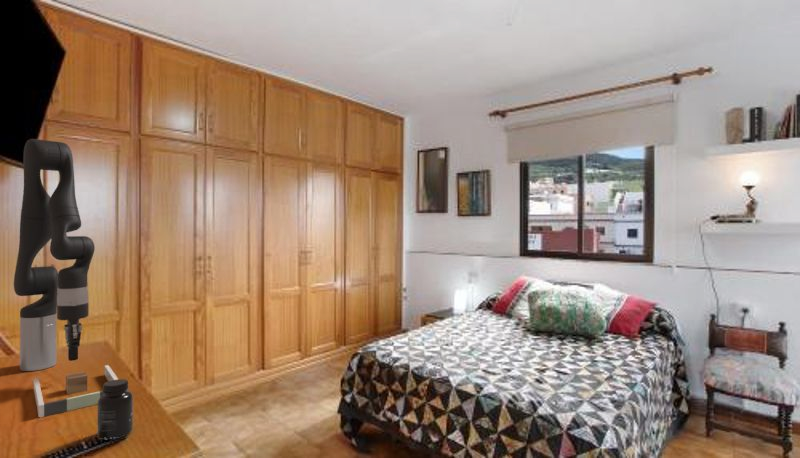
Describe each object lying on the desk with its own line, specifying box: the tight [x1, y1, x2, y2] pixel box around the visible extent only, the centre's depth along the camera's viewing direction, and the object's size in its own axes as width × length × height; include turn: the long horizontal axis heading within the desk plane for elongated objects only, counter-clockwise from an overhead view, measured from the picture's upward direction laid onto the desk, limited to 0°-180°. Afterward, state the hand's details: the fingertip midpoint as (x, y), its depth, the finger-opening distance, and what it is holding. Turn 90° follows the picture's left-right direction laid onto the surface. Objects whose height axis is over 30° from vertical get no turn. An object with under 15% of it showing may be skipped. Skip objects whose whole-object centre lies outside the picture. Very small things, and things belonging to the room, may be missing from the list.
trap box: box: [33, 364, 119, 418], centre depth 120 cm, size 24×18×3 cm
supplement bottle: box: [96, 378, 134, 439], centre depth 97 cm, size 7×7×12 cm
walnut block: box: [65, 371, 88, 396], centre depth 122 cm, size 4×4×4 cm
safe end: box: [66, 391, 100, 412], centre depth 111 cm, size 1×7×3 cm, turn 133°
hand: (73, 359), depth 127 cm, fingers closed
